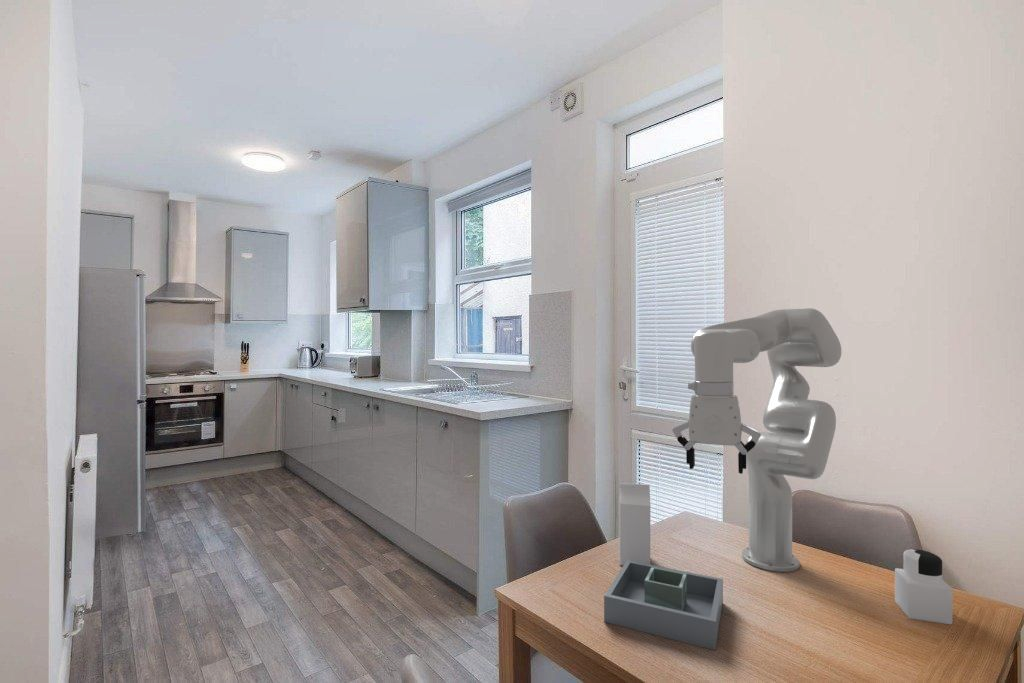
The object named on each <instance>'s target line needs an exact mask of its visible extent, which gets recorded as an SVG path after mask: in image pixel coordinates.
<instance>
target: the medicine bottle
mask: <svg viewBox="0 0 1024 683" xmlns="http://www.w3.org/2000/svg"><path fill="white" fill-rule="evenodd" d="M902 559H903V564H902V565H903V568H898V567H895V568H894V601H895V603H896V605H897V606H898V607H899V608H900V609H901V610H902V612H903V613H904V615H906V616H907V618H908V619H909V620H918V621H925V622H931V623H937V624H944V625H950V626H951V625H953V588H952V587H951V586H950V584H948V583H947V582H946V581H945V580H943V559H942V558H941V557H940V556H938V555H937V554H935V553H933V552H930V551H927V550H925V549H924V550H923V549H918V548H917V549H915V548H913V549H912V548H911V549H906V550H904V551H903V558H902Z"/></svg>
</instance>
